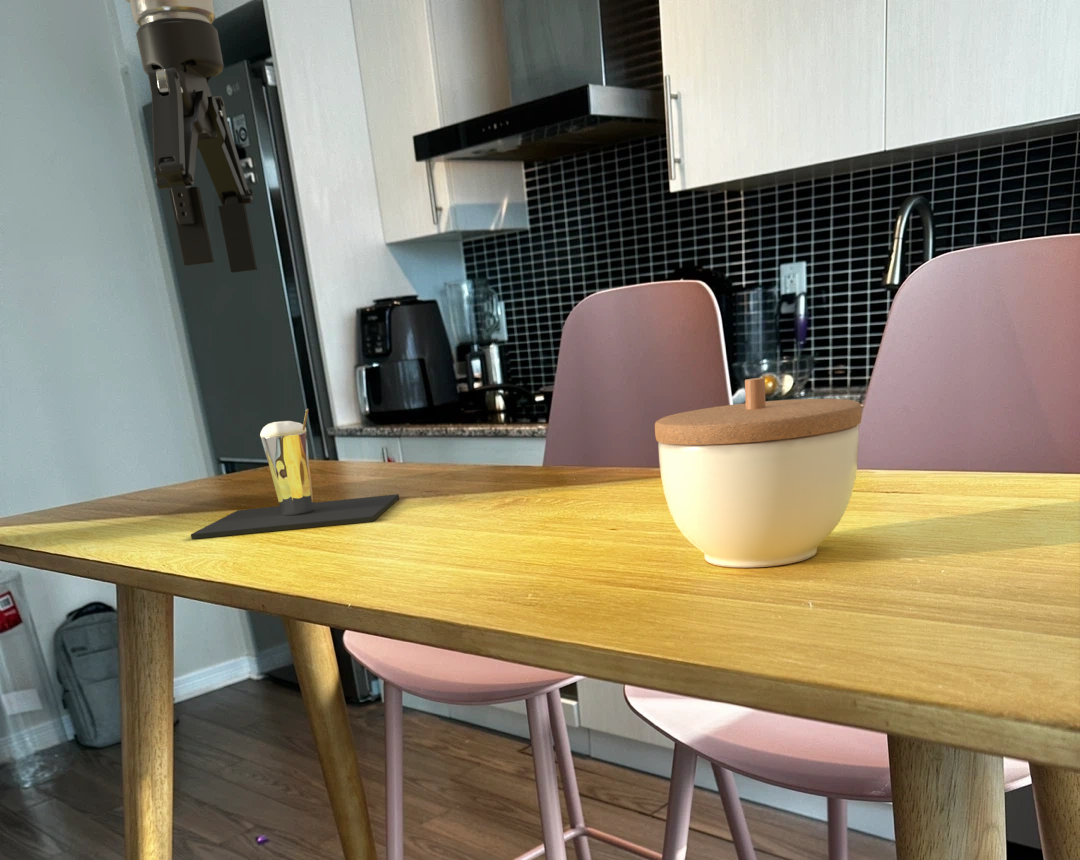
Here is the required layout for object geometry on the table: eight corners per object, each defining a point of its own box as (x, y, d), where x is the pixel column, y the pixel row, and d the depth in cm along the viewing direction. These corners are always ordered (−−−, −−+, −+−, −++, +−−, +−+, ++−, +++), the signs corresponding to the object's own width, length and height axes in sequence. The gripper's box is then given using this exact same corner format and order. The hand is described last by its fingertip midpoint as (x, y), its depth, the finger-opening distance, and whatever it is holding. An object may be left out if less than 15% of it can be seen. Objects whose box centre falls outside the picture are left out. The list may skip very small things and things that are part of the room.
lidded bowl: (794, 586, 59) (790, 385, 55) (624, 569, 67) (611, 394, 64) (896, 540, 67) (899, 362, 63) (733, 530, 76) (727, 373, 72)
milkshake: (315, 514, 102) (296, 411, 99) (267, 518, 104) (247, 415, 100) (335, 506, 107) (317, 406, 103) (289, 509, 108) (270, 411, 104)
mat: (191, 539, 99) (190, 534, 99) (238, 514, 112) (237, 510, 112) (373, 521, 98) (372, 516, 98) (399, 498, 111) (398, 494, 111)
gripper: (186, 62, 110) (228, 277, 117) (76, -9, 87) (137, 264, 94) (254, 53, 109) (292, 269, 117) (162, -21, 86) (216, 255, 93)
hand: (223, 268), depth 105 cm, fingers open, 13 cm apart
